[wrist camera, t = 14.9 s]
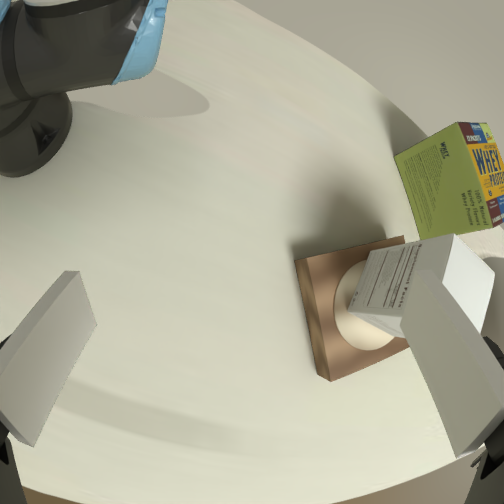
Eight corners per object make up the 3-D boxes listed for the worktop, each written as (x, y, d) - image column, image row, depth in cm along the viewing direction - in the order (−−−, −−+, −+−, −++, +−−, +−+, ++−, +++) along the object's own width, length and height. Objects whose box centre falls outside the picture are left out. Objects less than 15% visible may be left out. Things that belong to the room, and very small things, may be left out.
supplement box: (414, 278, 41) (497, 272, 27) (392, 337, 39) (477, 351, 25) (369, 248, 39) (455, 229, 25) (344, 311, 38) (430, 319, 23)
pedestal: (294, 260, 41) (307, 257, 37) (387, 239, 45) (404, 234, 41) (317, 374, 40) (332, 382, 36) (404, 338, 45) (422, 341, 40)
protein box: (420, 243, 47) (493, 229, 32) (392, 156, 48) (456, 119, 33) (454, 229, 50) (519, 214, 35) (428, 151, 51) (487, 121, 36)
